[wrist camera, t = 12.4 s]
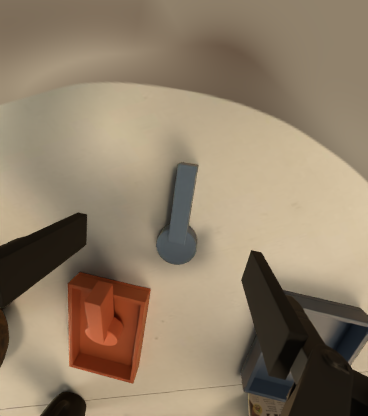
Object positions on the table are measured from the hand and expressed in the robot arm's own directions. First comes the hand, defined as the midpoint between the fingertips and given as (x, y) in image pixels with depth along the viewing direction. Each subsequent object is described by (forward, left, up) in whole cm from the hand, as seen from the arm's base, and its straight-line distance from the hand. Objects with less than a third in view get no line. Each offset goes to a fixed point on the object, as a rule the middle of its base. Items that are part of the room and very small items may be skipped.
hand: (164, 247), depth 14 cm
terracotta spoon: (+17, -8, -7) cm, 20 cm away
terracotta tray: (+22, -8, -9) cm, 25 cm away
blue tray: (+17, +20, -9) cm, 28 cm away
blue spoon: (0, 0, -9) cm, 9 cm away
